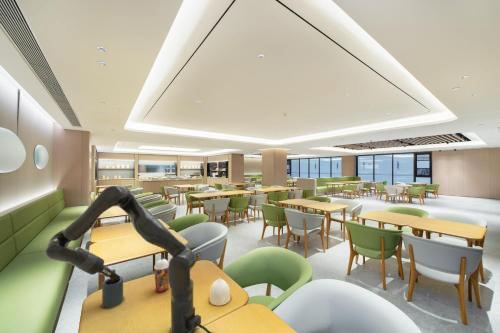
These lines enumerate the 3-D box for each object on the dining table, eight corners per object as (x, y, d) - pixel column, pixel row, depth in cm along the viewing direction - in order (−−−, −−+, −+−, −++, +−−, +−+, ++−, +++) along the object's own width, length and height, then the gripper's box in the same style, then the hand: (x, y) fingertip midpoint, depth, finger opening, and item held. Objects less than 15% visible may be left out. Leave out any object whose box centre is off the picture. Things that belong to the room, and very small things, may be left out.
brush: (119, 298, 110) (119, 269, 110) (110, 303, 107) (110, 273, 107) (115, 295, 113) (115, 267, 113) (105, 300, 109) (105, 270, 109)
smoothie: (164, 294, 116) (164, 258, 116) (150, 292, 118) (150, 256, 118) (172, 286, 124) (172, 252, 124) (160, 284, 126) (160, 251, 126)
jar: (126, 300, 111) (126, 279, 111) (107, 310, 103) (107, 287, 103) (118, 295, 116) (117, 274, 116) (99, 303, 108) (99, 282, 109)
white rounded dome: (233, 301, 110) (233, 278, 110) (213, 308, 105) (213, 283, 105) (225, 290, 120) (225, 269, 120) (206, 296, 115) (206, 273, 115)
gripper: (102, 258, 100) (129, 274, 110) (90, 252, 107) (116, 267, 118) (89, 274, 95) (118, 289, 105) (77, 266, 103) (105, 280, 113)
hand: (117, 277), depth 111 cm, fingers closed on brush
